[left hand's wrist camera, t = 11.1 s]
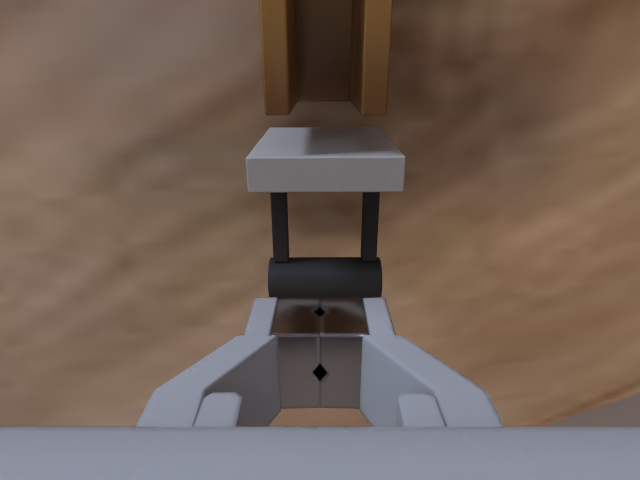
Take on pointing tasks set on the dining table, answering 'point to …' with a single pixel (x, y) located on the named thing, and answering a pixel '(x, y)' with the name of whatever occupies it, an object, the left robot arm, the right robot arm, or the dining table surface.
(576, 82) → the dining table surface
